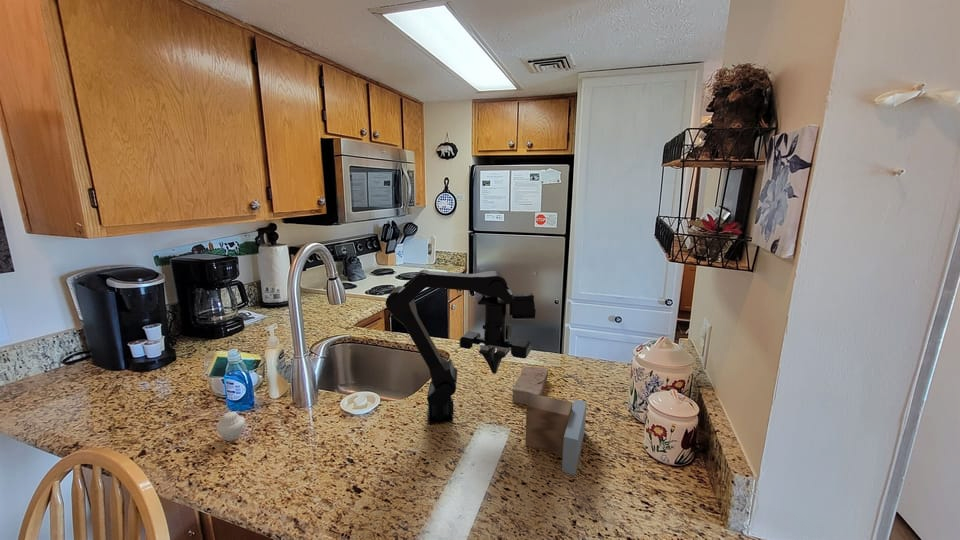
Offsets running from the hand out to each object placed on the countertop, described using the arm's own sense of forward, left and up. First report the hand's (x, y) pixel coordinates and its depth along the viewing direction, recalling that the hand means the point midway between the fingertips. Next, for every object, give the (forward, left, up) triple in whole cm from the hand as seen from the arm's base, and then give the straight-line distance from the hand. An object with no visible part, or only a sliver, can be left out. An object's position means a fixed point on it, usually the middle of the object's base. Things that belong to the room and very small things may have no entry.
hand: (494, 373), depth 103 cm
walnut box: (+10, -14, -13) cm, 22 cm away
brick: (+15, +10, -14) cm, 22 cm away
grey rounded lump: (-68, +6, -13) cm, 70 cm away
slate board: (+15, -18, -13) cm, 27 cm away
